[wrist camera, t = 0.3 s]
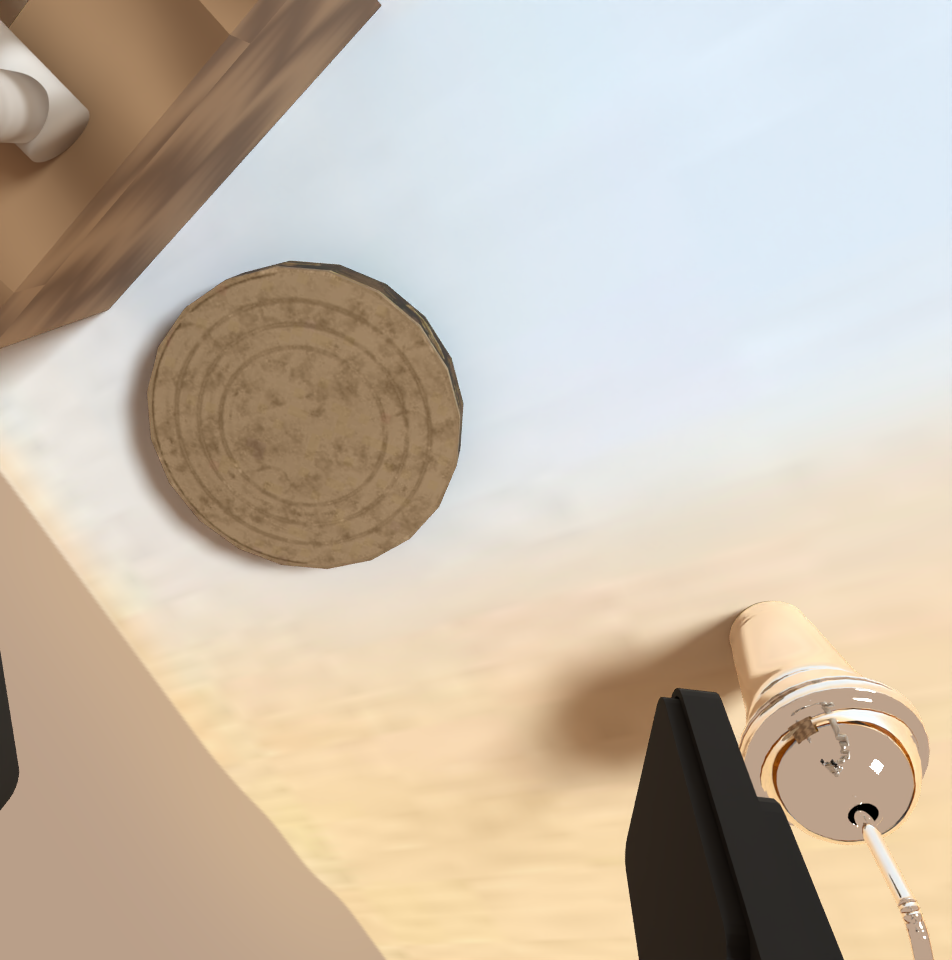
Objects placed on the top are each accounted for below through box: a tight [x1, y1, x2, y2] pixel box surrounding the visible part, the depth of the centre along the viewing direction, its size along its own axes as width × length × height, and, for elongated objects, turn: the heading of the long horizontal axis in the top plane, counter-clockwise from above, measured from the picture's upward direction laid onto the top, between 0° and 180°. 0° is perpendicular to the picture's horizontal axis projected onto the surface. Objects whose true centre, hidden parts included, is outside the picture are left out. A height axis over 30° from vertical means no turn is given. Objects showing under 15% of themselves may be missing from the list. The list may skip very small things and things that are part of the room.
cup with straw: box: [729, 601, 934, 960], centre depth 37 cm, size 8×9×20 cm
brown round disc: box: [147, 261, 463, 569], centre depth 41 cm, size 16×16×3 cm
